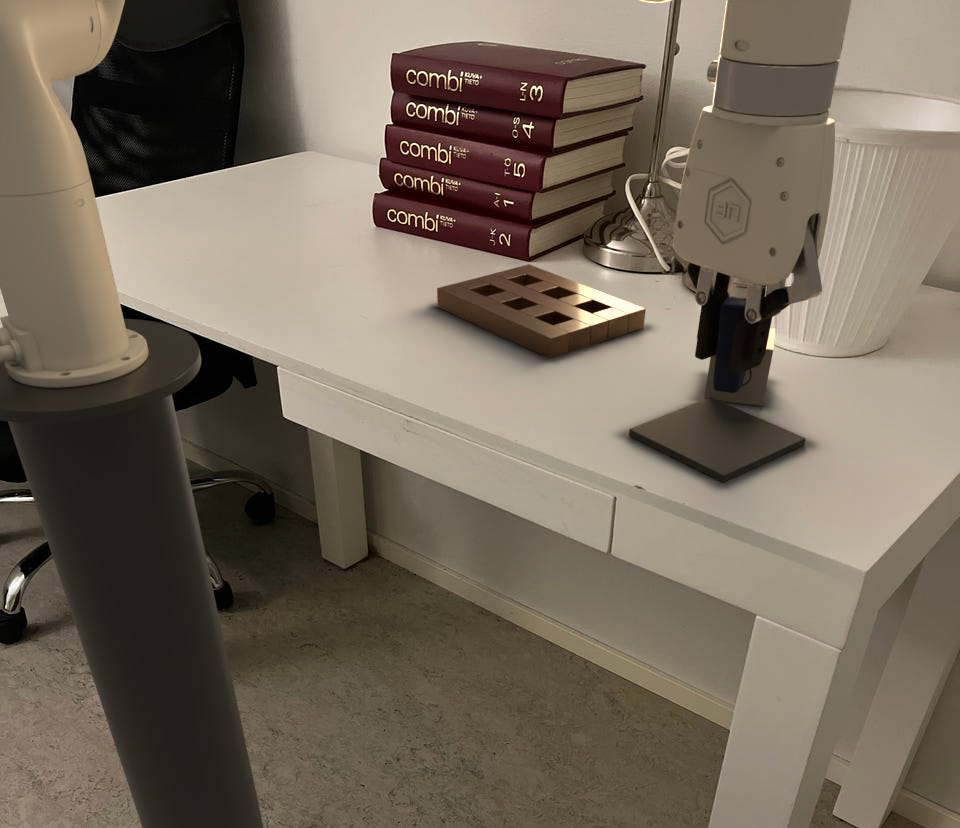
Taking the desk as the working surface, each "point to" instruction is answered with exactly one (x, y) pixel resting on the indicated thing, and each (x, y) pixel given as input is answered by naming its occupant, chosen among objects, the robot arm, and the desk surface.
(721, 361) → the eraser
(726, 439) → the coaster
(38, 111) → the robot arm
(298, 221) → the desk surface
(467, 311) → the holder
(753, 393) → the dice cube
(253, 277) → the desk surface
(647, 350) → the desk surface
